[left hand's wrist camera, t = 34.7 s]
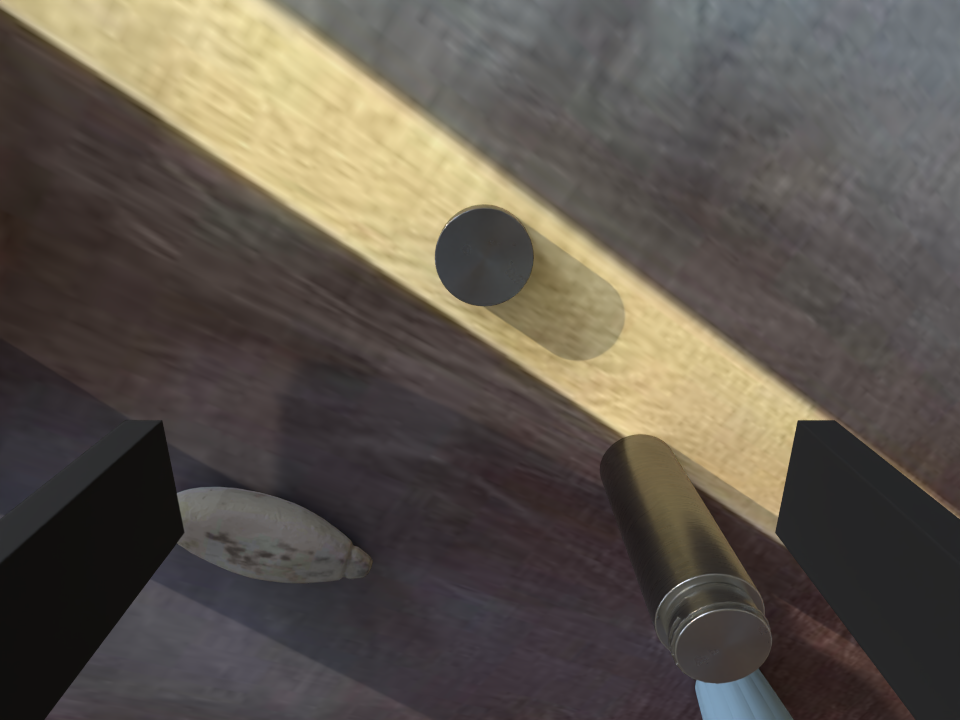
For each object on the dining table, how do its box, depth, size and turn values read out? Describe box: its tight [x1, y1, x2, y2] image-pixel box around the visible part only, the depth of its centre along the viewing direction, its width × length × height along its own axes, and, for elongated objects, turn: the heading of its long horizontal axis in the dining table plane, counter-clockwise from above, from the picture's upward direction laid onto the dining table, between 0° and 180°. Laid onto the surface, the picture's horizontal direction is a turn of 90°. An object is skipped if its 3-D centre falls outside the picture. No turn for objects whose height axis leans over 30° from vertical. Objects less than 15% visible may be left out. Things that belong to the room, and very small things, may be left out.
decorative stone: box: [177, 487, 373, 583], centre depth 43 cm, size 6×16×3 cm, turn 71°
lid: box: [435, 205, 533, 306], centre depth 37 cm, size 6×6×2 cm
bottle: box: [600, 435, 772, 684], centre depth 36 cm, size 5×5×16 cm
